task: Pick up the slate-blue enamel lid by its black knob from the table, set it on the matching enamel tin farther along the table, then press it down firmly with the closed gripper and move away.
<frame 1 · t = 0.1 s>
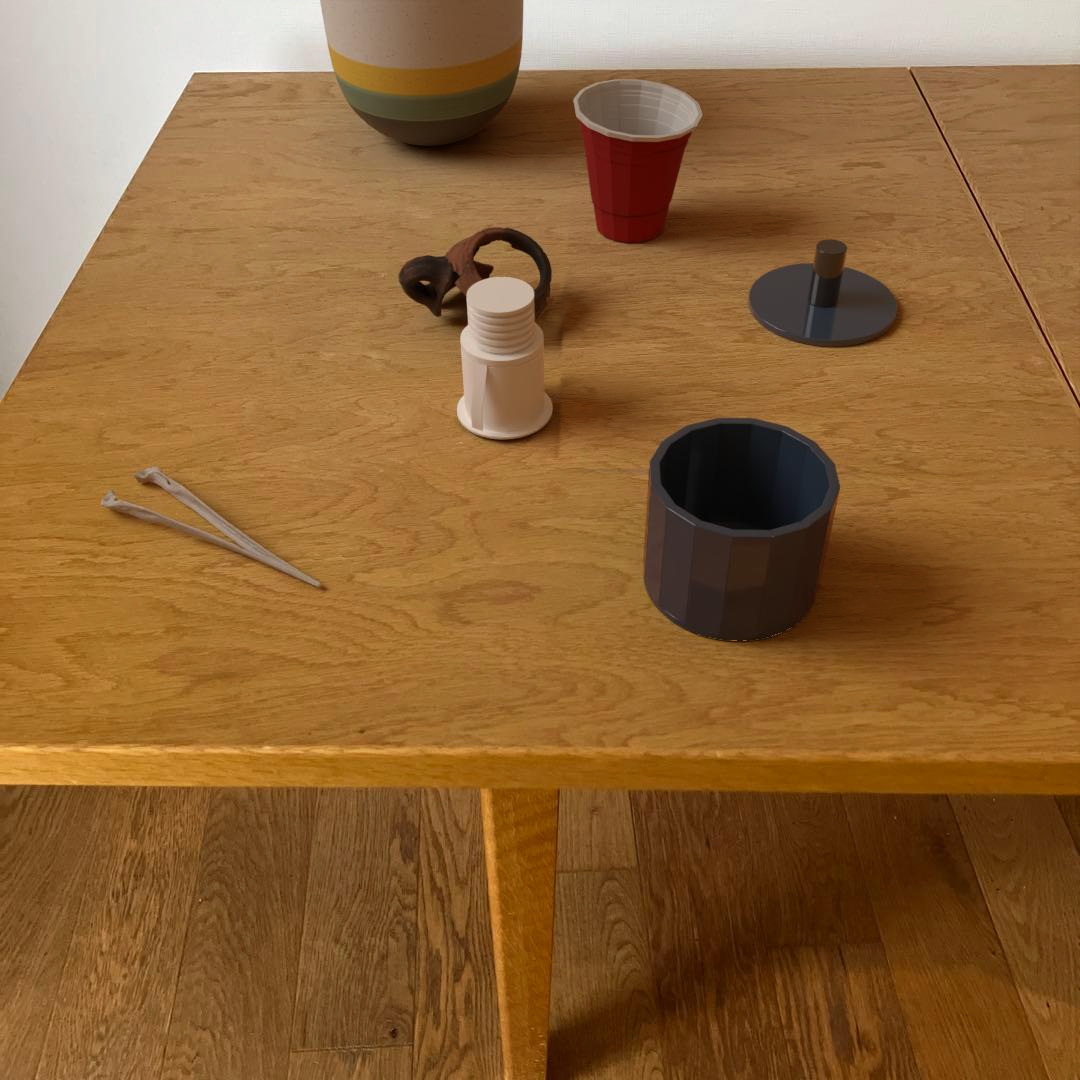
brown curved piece: (476, 319, 98), on the table
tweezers: (219, 541, 78), on the table
lid: (821, 306, 97), point 1 cm above the table
plastic cup: (631, 235, 108), on the table
planter: (432, 134, 124), on the table
downlight: (505, 415, 88), on the table
tin: (729, 578, 75), on the table
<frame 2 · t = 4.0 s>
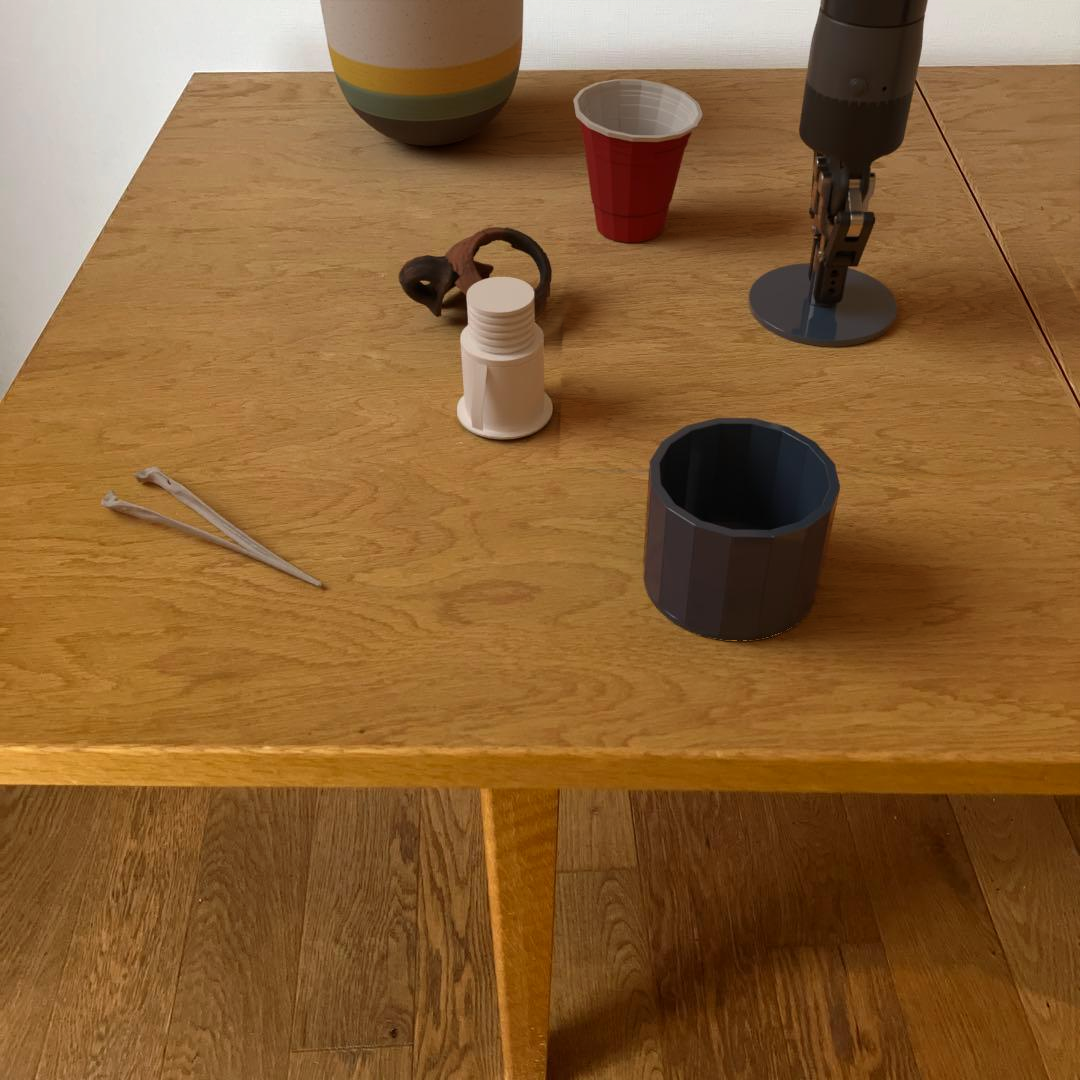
hand: (824, 289, 96), 2 cm above the table, tool pointing down, fingers closed on lid, 2 cm apart
lid: (821, 306, 97), point 1 cm above the table, touching gripper
everything else where it was.
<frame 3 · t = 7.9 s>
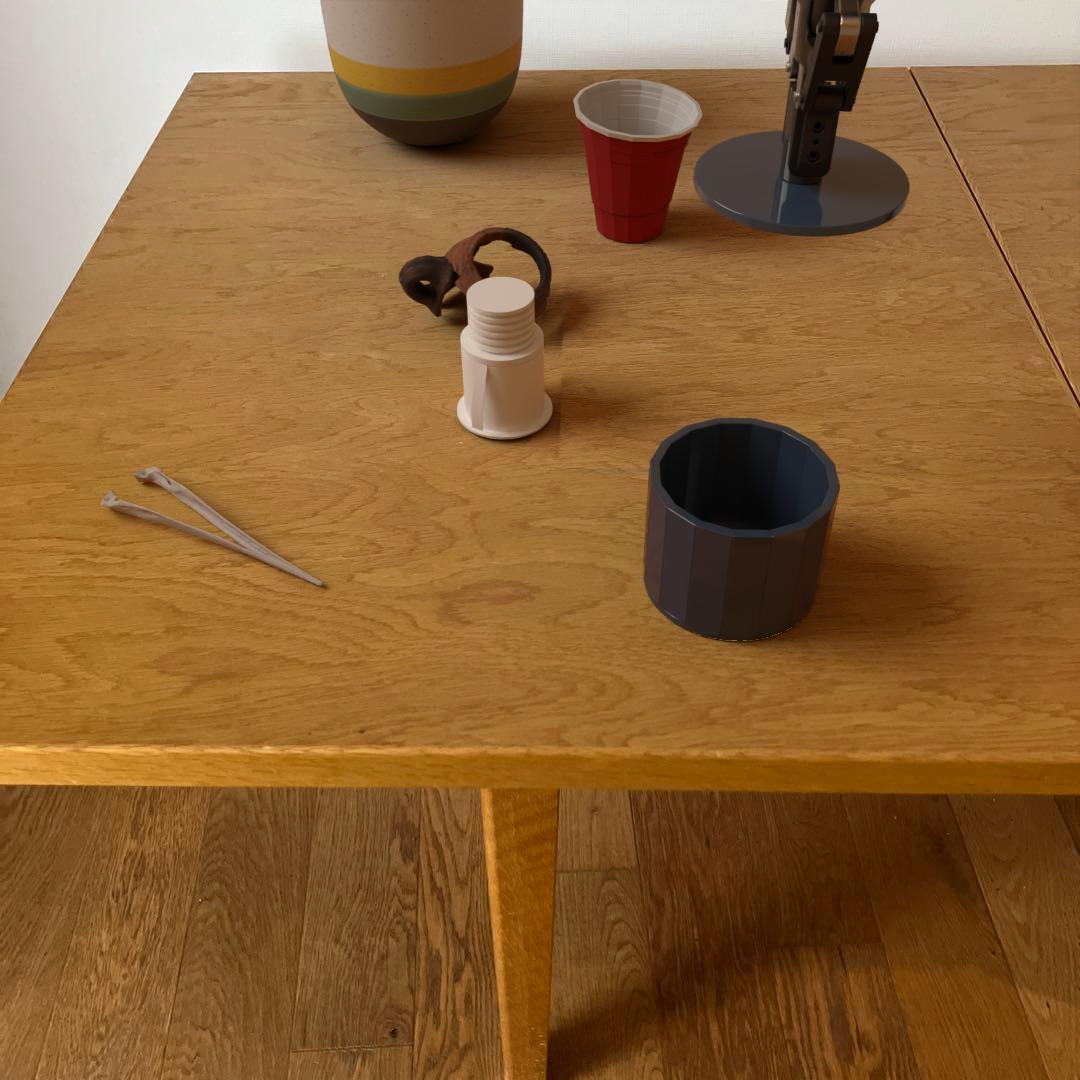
hand: (804, 159, 66), 23 cm above the table, tool pointing down, fingers closed on lid, 2 cm apart
lid: (799, 185, 67), point 22 cm above the table, touching gripper
everything else where it was.
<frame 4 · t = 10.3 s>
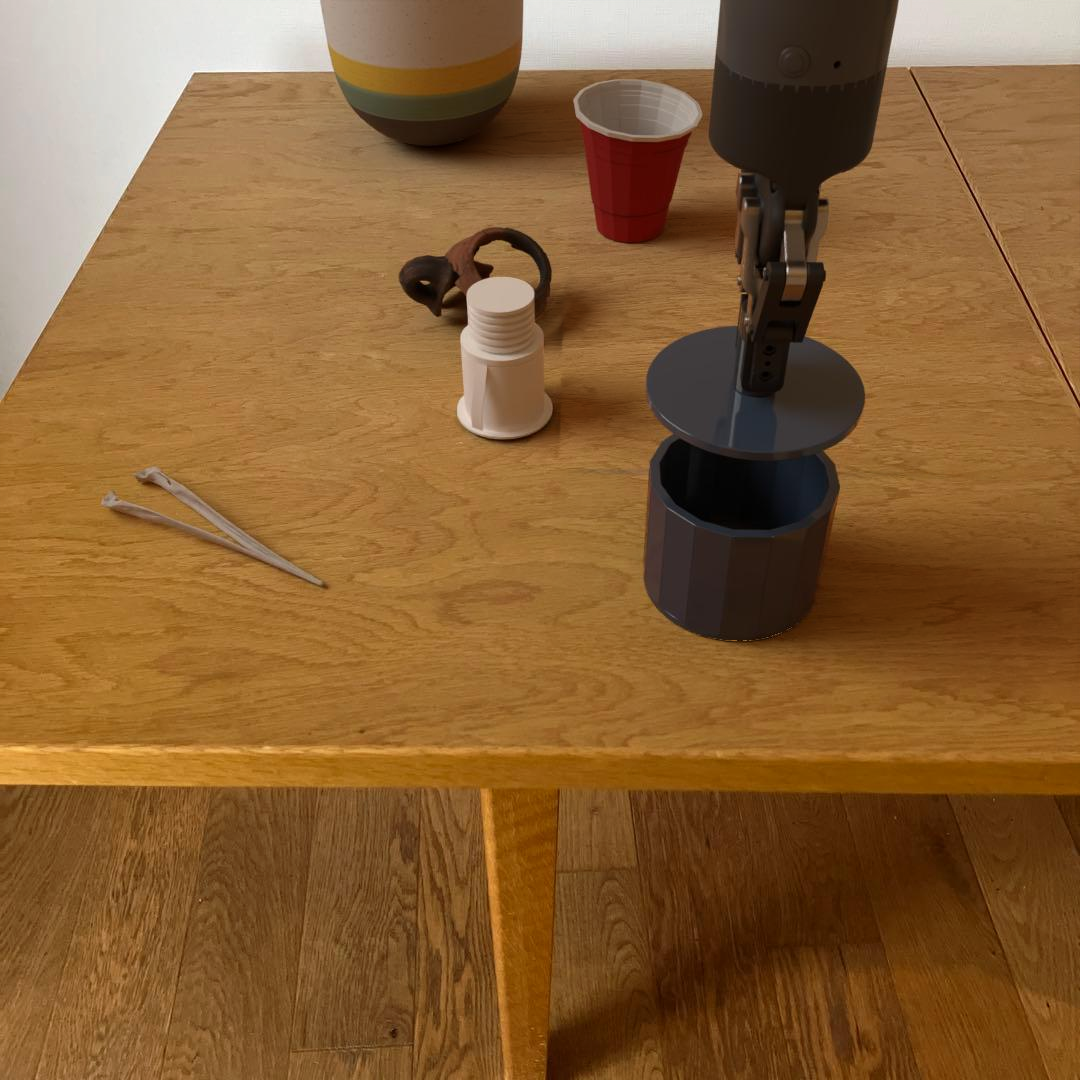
hand: (757, 370, 64), 16 cm above the table, tool pointing down, fingers closed on lid, 2 cm apart
lid: (753, 393, 65), point 14 cm above the table, touching gripper
everything else where it was.
when the fingers open (10 cm above the table, at t = 11.9 s): lid stays where it is, resting on tin.
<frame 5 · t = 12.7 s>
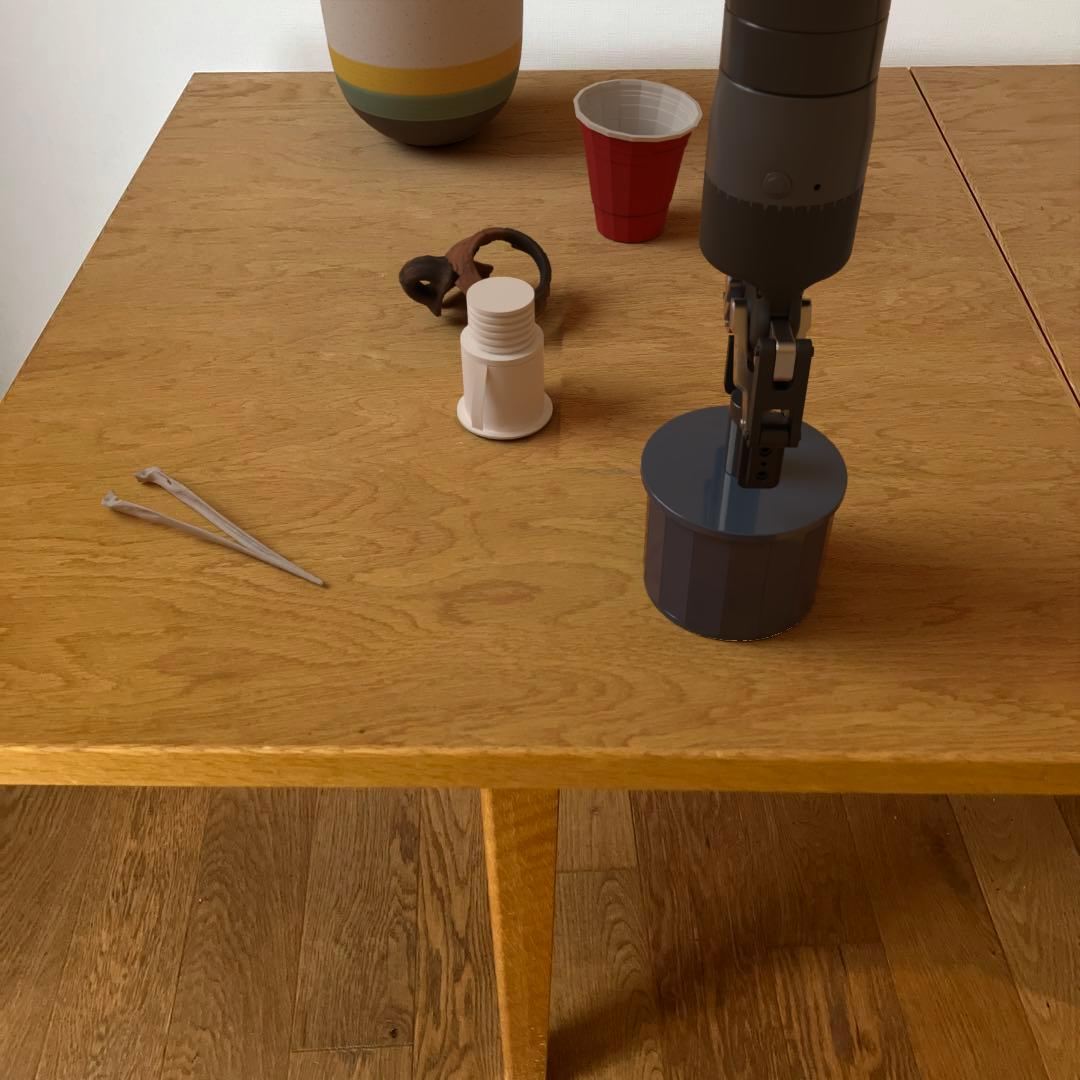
hand: (749, 435, 67), 11 cm above the table, tool pointing down, fingers open, 8 cm apart
lid: (742, 473, 69), point 8 cm above the table, touching tin
everything else where it was.
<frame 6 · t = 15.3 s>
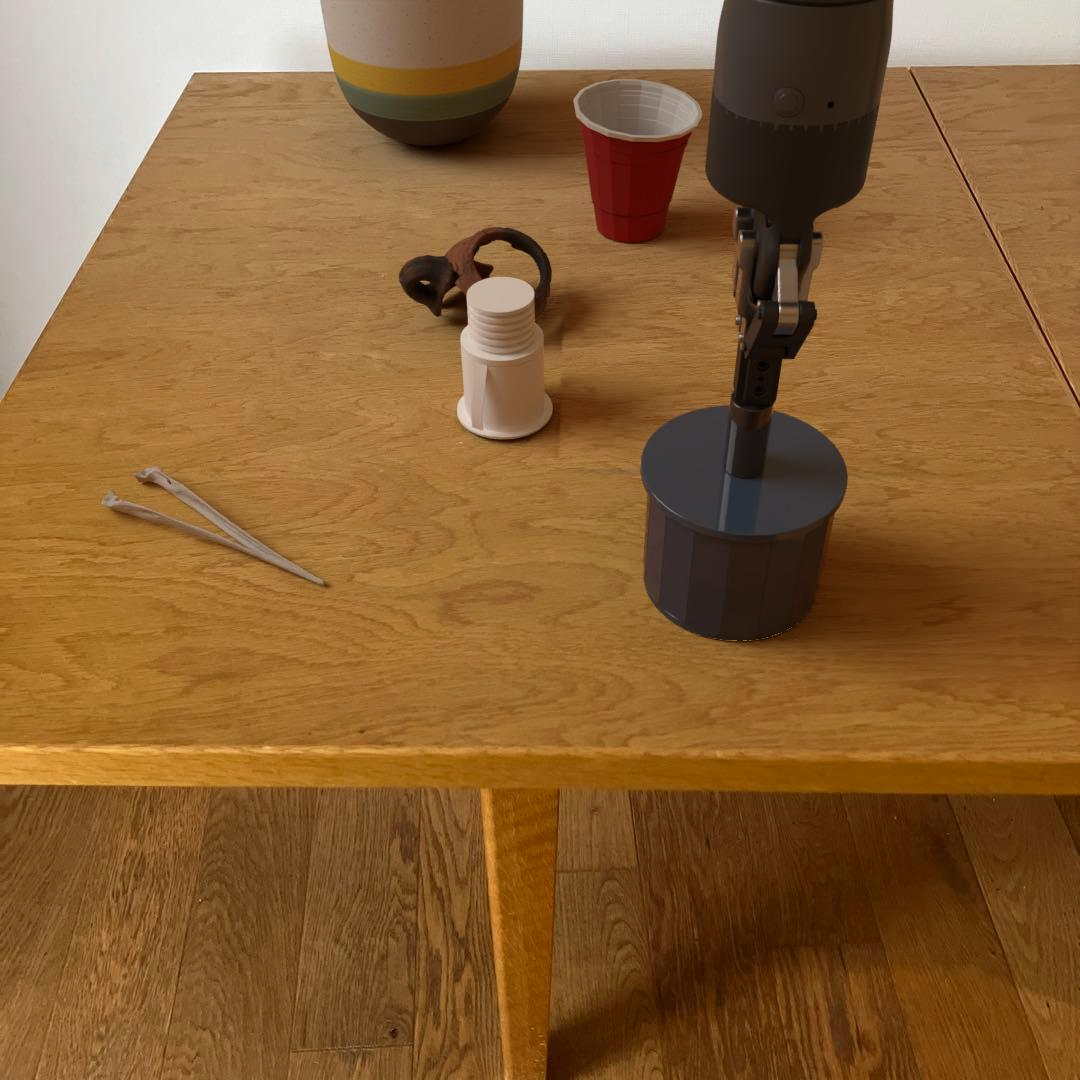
hand: (753, 397, 66), 14 cm above the table, tool pointing down, fingers closed
lid: (742, 473, 69), point 8 cm above the table, touching gripper, tin
everything else where it was.
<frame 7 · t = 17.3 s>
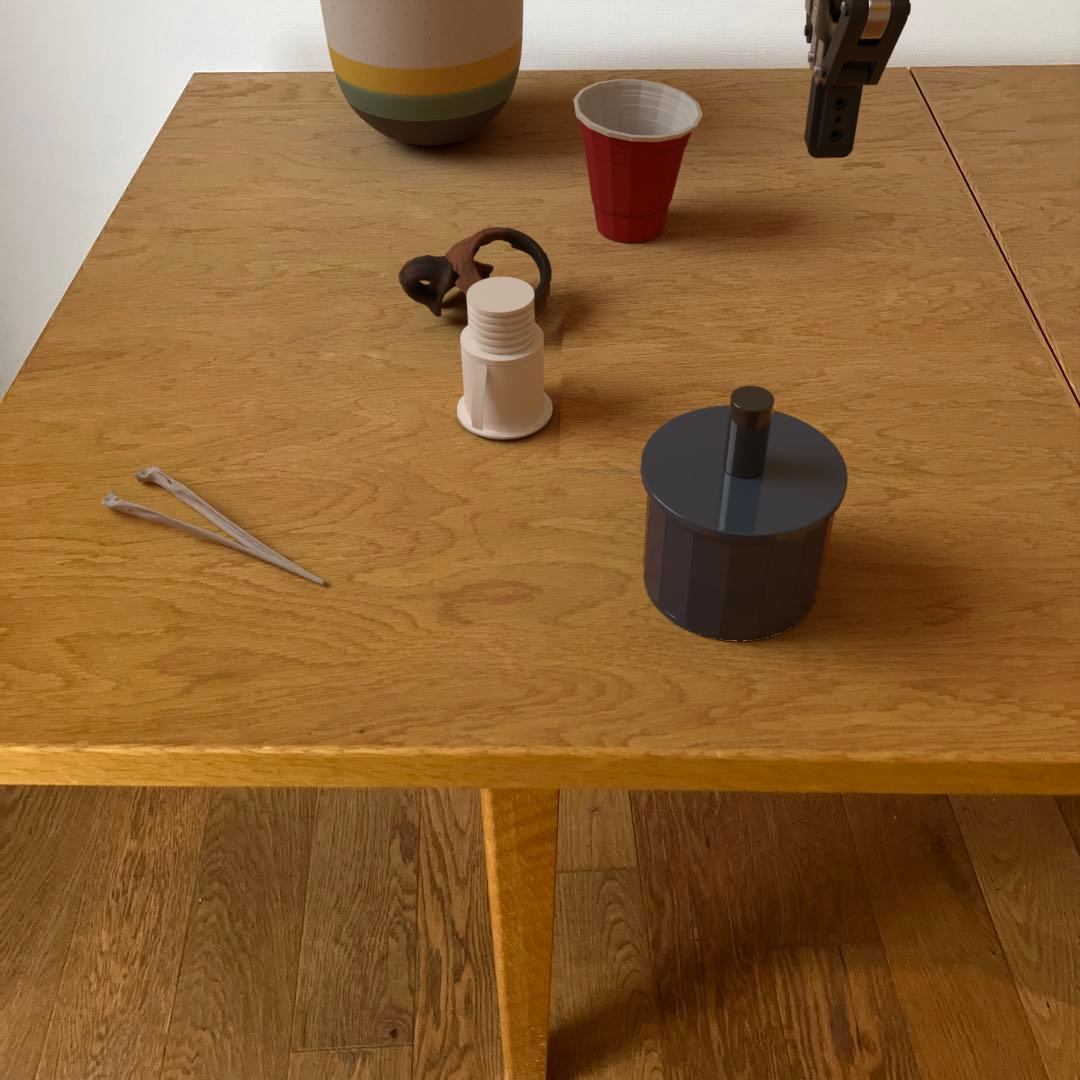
hand: (827, 150, 60), 26 cm above the table, tool pointing down, fingers closed
lid: (742, 473, 69), point 8 cm above the table, touching tin
everything else where it was.
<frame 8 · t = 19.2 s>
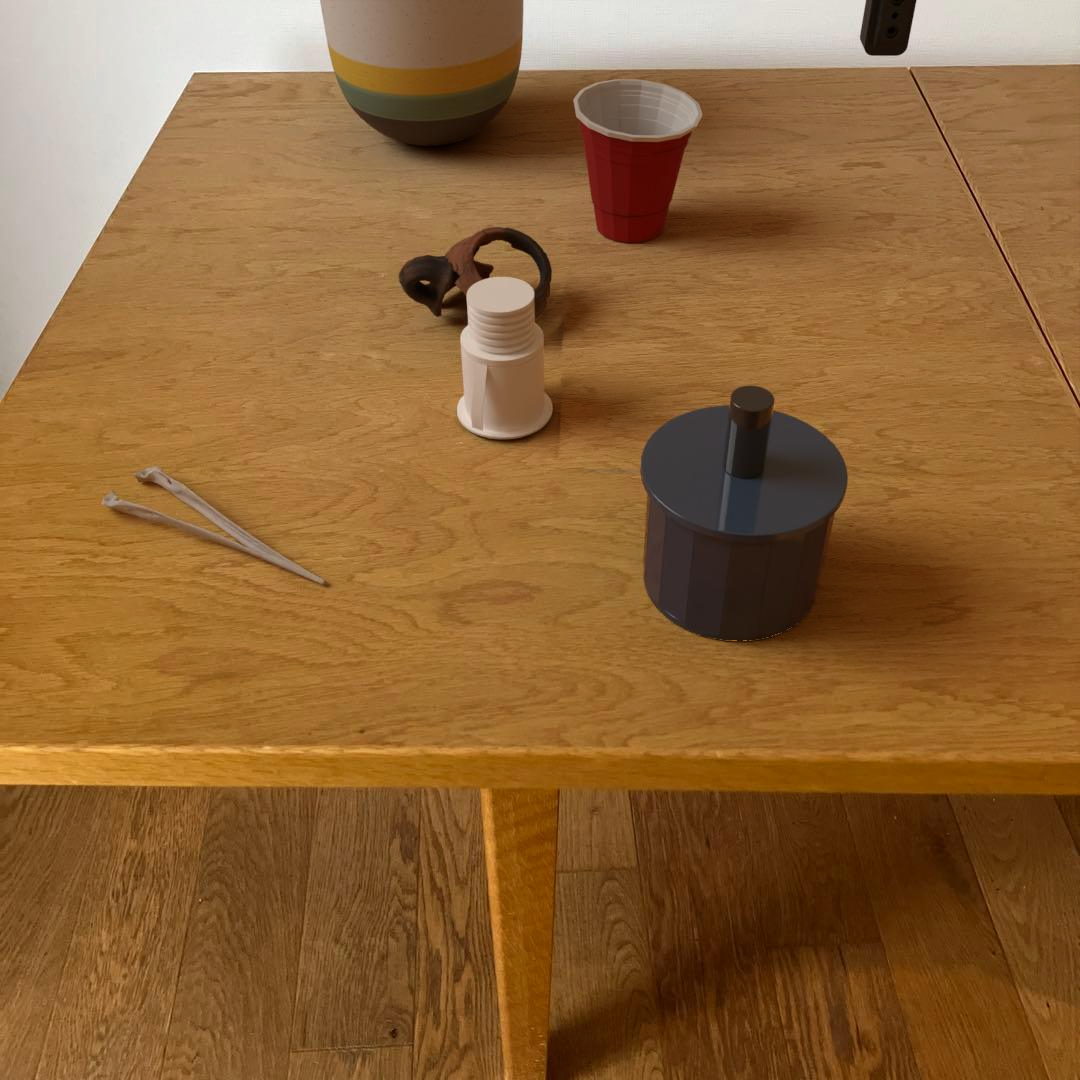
hand: (881, 49, 62), 29 cm above the table, tool pointing down, fingers closed
nothing on the table moved.
at the end: lid 0.1 cm off-centre on the tin, point 8.5 cm above the tin's base; lid tilted 0°; the gripper is holding nothing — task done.
